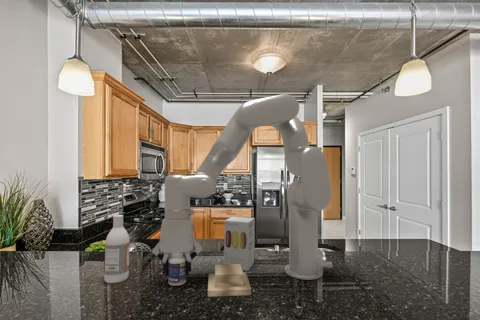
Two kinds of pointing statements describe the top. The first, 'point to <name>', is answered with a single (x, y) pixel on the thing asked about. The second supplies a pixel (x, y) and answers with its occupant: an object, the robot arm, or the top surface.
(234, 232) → the supplement box
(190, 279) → the top surface
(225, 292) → the plinth
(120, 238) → the bath foam
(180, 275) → the pill bottle
